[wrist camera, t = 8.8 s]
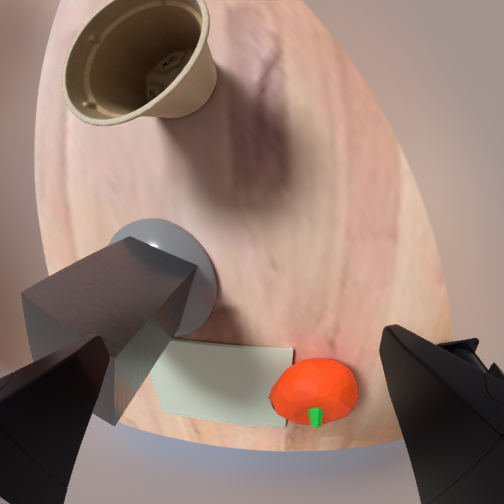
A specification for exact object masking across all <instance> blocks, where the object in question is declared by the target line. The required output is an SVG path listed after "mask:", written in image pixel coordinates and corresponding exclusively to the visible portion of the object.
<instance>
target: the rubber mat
mask: <svg viewBox="0 0 504 504" xmlns="http://www.w3.org/2000/svg"><path fill="white" fill-rule="evenodd" d="M292 359H293V348H280V347H259V346H243V345H230V344H219V343H208V342H199V341H191V340H183V339H175V338H172V339H171V341H170V342H169V344H168V345H167V347H166V348H165V350H164V351H163V353H162V354H161V356H160V357H159V359H158V360H157V362H156V363H155V365H154V366H153V368H152V369H151V371H150V372H149V373H150V376H151V379H152V382H153V385H154V388H155V391H156V394H157V397H158V400H159V403H160V406H161V409H162V411H163V412H166V413H171V414H175V415H180V416H185V417H190V418H196V419H202V420H208V421H214V422H221V423H229V424H238V425H247V426H260V427H277V428H285V425H286V419H285V418H283V417H281V416H279V415H278V414H277V413H276V411H274V409H273V407H272V405H271V404H272V402H271V400H270V399H269V398H268V397H269V395H270V392H271V389H272V387H273V385H274V384H275V383H276V381H277V380H278V379H279V377H280V376H281V375H282V373H283V372H284V371H285V370H286V369H287V368H289V367H290V366H292ZM270 402H271V403H270Z"/></svg>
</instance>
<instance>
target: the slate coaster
mask: <svg viewBox="0 0 504 504" xmlns="http://www.w3.org/2000/svg"><path fill="white" fill-rule="evenodd" d="M128 236H131V237H133V238H136V239H138V240H140V241H142V242H145V243H147V244H149V245H151V246H154V247H156V248H158V249H161V250H163V251H165V252H167V253H170V254H172V255H174V256H177V257H179V258H181V259H184V260H186V261H188V262H191V263H193V264H196V265H198V266H197V269H196V273H195V276H194V279H193V282H192V286H191V289H190V292H189V296H188V299H187V302H186V306H185V309H184V313H183V316H182V320H181V323H180V327H179V329H178V330H177V332H176V333H175V335H174V336H173V337H178V336H184V335H187V334H189V333H191V332H193V331H195V330H197V329H198V328H199V327H201V326H202V325H203V323H204V322H205V321H206V320H207V318H208V317H209V315H210V313H211V311H212V309H213V307H214V304H215V301H216V295H217V282H216V275H215V271H214V268H213V265H212V263H211V260H210V258H209V256H208V255H207V253H206V251H205V250H204V248H203V247H202V246H201V244H200V243H199V242H198V241H197V240H196V239H195V238H194V237H193V236H192V235H191V234H190V233H189V232H187V231H186V230H184V229H183V228H181V227H180V226H178V225H176V224H174V223H171V222H168V221H166V220H161V219H142V220H138V221H135V222H132V223H130V224H128V225H126V226H125V227H123V228H122V229H120V230H119V231H118V232H117V233H116V234H115V236H114V237H113V238H112V240H111V242H110V243H109V245H111V244H113V243H116V242H118V241H120V240H122V239H124V238H126V237H128ZM109 245H108V246H109Z"/></svg>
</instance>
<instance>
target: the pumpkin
mask: <svg viewBox="0 0 504 504" xmlns="http://www.w3.org/2000/svg"><path fill="white" fill-rule="evenodd" d="M358 396H359V393H358V387H357V380H356V379H355V377H354V375H353V373H352V372H351V370H350V369H349V367H347V366H345V365H344V364H342V363H341V362H337V361H334V360H331V359H317V358H314V359H306V360H302V361H300V362H298V363H295V364H294V365H292V366H290V367H289V368H287V369H286V370H285V371H284V372H283V373H282V375H281V376H280V377H279V379H278V380H277V381H276V383H275V384H274V385H273V387H272V389H271V392H270V395H269V397H268V398H269V399H270V400H271V402H272V404H271V405H272V407H273V409H274V411H276V413H277V414H278V415H279V416H281V417H283V418H285V419H287V420H290V421H292V422H295V423H298V424H306V425H312V426H314V427H316V428H318V427H320V426H321V424H325V423H328V422H331V421H333V420H336V419H339V418H342V417H345V416H346V415H347V414H348V413H349V412H351V411H352V410H353V408H354V406H355V405H356V403H357V400H358ZM271 402H270V403H271Z"/></svg>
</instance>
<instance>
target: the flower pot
mask: <svg viewBox="0 0 504 504" xmlns="http://www.w3.org/2000/svg"><path fill="white" fill-rule="evenodd" d="M209 27H210V16H209V12H208V8H207V6H206V4H205V1H204V0H110V1H109V2H107V3H106V4H105V5H104V6H102V7H101V8H100V9H99V10H98V11H97V12H96V13H95V14H94V15H92V17H90V19H89V20H88V21H87V22H86V23H85V24H84V25H83V27H82V28H81V30H80V31H79V33H78V34H77V36H76V37H75V39H74V41H73V42H72V45H71V47H70V49H69V51H68V53H67V57H66V60H65V63H64V67H63V73H62V89H63V94H64V98H65V101H66V103H67V105H68V107H69V109H70V110H71V112H72V113H73V114H74V115H75V116H76V117H77V118H79V119H80V120H82V121H83V122H85V123H88V124H92V125H97V126H111V125H117V124H121V123H125V122H128V121H130V120H133V119H135V118H137V117H140V116H151V117H163V118H179V117H183V116H186V115H189V114H191V113H193V112H195V111H196V110H198V109H199V108H201V107H202V106H203V105H204V104H205V103H206V102H207V101H208V99H209V98H210V96H211V94H212V92H213V90H214V87H215V85H216V82H217V71H216V67H215V64H214V62H213V59H212V56H211V52H210V49H209V46H208V43H207V38H208V34H209ZM173 57H177V58H176V60H175V61H173V62H171V63H169V64H168V65H166V66H163V65H164V64H165V63H166V62H167V61H169V60H170V59H171V58H173ZM151 92H153V94H154V96H155V99H153V100H152V101H151V99H150V93H151Z"/></svg>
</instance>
